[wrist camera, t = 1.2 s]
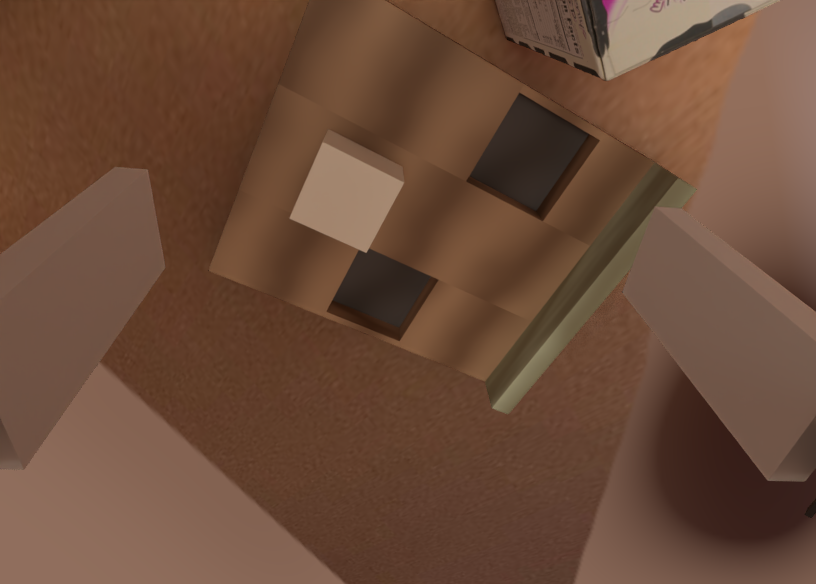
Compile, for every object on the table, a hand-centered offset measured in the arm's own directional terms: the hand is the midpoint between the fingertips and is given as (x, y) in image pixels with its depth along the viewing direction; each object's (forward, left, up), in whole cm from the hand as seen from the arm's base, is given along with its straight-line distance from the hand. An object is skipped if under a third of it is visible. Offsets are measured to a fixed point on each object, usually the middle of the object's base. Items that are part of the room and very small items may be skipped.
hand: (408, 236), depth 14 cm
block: (0, -6, -19) cm, 19 cm away
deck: (+6, -6, -21) cm, 22 cm away
